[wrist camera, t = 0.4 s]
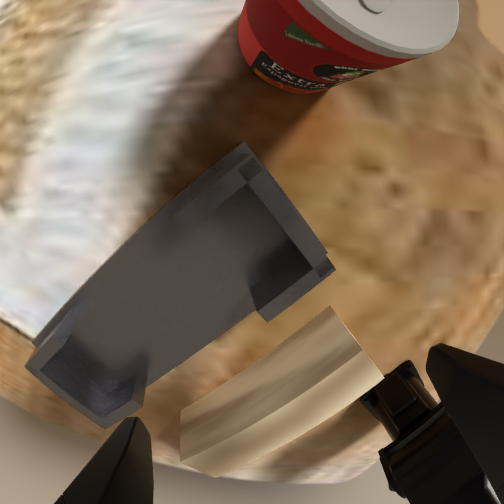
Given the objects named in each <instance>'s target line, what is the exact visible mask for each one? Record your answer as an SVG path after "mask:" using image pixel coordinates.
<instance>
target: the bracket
mask: <svg viewBox="0 0 504 504" xmlns="http://www.w3.org/2000/svg"><path fill="white" fill-rule="evenodd" d="M327 253H328V252H327V251H326V250H325V248H324V247H323V245H322V244H321V242H320V241H319V240H318V238H317V237H316V235H315V234H314V232H313V231H312V230H311V228H310V227H309V226H308V224H307V223H306V221H305V220H304V219H303V217H302V216H301V214H300V213H299V212H298V210H297V209H296V208H295V206H294V205H293V204H292V202H291V201H290V200H289V198H288V197H287V195H286V194H285V193H284V191H283V190H282V189H281V187H280V186H279V185H278V184H277V182H276V181H275V180H274V178H273V177H272V176H271V174H270V173H269V172H268V170H267V169H266V168H265V167H264V165H263V164H262V163H261V161H260V160H259V159H258V158H257V156H256V155H255V154H254V152H253V151H252V150H251V149H250V147H249V146H248V145H247V144H246V142H245V141H243V142H241V143H240V144H239V145H237V146H236V147H235V148H234V149H232V150H231V151H230V152H228V153H227V154H226V155H225V156H223V157H222V158H221V159H220V160H218V161H217V162H216V163H215V164H213V165H212V166H211V167H210V168H208V169H207V170H206V171H205V172H203V173H202V174H201V175H200V176H199V177H197V178H196V179H195V180H194V181H193V182H191V183H190V184H189V185H188V186H187V187H186V188H184V189H183V190H182V191H181V192H180V193H179V194H177V195H176V196H175V197H174V198H173V199H172V200H170V201H169V202H168V203H167V204H166V205H165V206H164V207H163V208H161V209H160V210H159V211H158V212H157V213H156V214H155V215H154V216H153V217H151V218H150V219H149V220H148V221H147V222H146V223H145V224H144V225H143V226H142V227H141V228H139V229H138V230H137V231H136V232H135V233H134V234H133V235H132V236H131V237H130V238H129V239H128V240H127V241H126V242H125V243H124V244H123V245H121V246H120V247H119V248H118V249H117V250H116V251H115V252H114V253H113V254H112V255H111V256H110V257H109V258H108V259H107V260H106V261H105V262H104V263H103V264H102V265H101V266H100V267H99V268H98V269H97V270H96V271H95V272H94V273H93V274H92V275H91V276H90V277H89V278H88V279H87V281H86V282H85V283H84V284H83V285H82V286H81V287H80V288H79V289H78V290H77V291H76V292H75V293H74V294H73V295H72V296H71V297H70V299H69V300H68V301H67V302H66V303H65V304H64V305H63V306H62V307H61V308H60V310H59V311H58V312H57V313H56V314H55V315H54V316H53V317H52V319H51V320H50V321H49V322H48V323H47V324H46V325H45V327H44V328H43V329H42V330H41V331H40V332H39V334H38V335H37V336H36V337H35V339H34V340H33V342H32V343H33V344H34V345H35V346H36V349H35V350H34V352H33V354H32V355H31V357H30V358H29V360H28V361H27V363H26V365H25V366H24V367H25V368H26V369H27V370H29V371H30V372H31V373H32V374H33V375H34V376H35V377H36V378H38V379H39V380H40V381H41V382H42V383H43V384H45V385H46V386H47V387H48V388H49V389H51V390H52V391H53V392H54V393H55V394H57V395H58V396H59V397H60V398H62V399H63V400H64V401H66V402H67V403H68V404H70V405H71V406H72V407H74V408H75V409H76V410H78V411H79V412H80V413H82V414H83V415H85V416H86V417H87V418H89V419H90V420H92V421H93V422H95V423H96V424H98V425H99V426H101V427H102V428H104V429H106V428H108V427H110V426H112V425H113V424H115V423H117V422H118V421H120V420H122V419H123V418H125V417H127V416H128V415H130V414H132V413H133V412H135V411H137V410H138V409H140V408H142V407H143V401H144V395H145V388H146V387H147V386H148V385H150V384H151V383H153V382H154V381H156V380H157V379H159V378H160V377H162V376H163V375H165V374H166V373H167V372H169V371H170V370H172V369H173V368H175V367H176V366H178V365H179V364H181V363H182V362H183V361H185V360H186V359H188V358H189V357H191V356H192V355H193V354H195V353H196V352H198V351H199V350H200V349H202V348H203V347H205V346H206V345H207V344H209V343H210V342H212V341H213V340H214V339H216V338H217V337H219V336H220V335H221V334H223V333H224V332H225V331H227V330H228V329H230V328H231V327H232V326H234V325H235V324H236V323H238V322H239V321H240V320H242V319H243V318H245V317H246V316H247V315H249V314H250V313H251V312H253V311H254V310H255V309H256V310H257V312H258V313H259V315H260V316H261V317H262V318H263V319H264V320H265V321H266V322H267V323H268V322H269V321H270V320H272V319H273V318H274V317H276V316H277V315H278V314H280V313H281V312H282V311H284V310H285V309H286V308H288V307H289V306H290V305H292V304H293V303H294V302H296V301H297V300H298V299H299V298H301V297H302V296H303V295H305V294H306V293H307V292H309V291H310V290H311V289H312V288H314V287H315V286H316V285H318V284H319V283H320V282H321V281H323V280H324V279H325V278H326V277H328V276H329V275H330V274H331V273H333V272H334V271H335V270H336V269H335V267H334V266H333V264H332V263H331V262H330V260H329V259H328V257H327V256H326V254H327Z"/></svg>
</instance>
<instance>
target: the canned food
mask: <svg viewBox="0 0 504 504" xmlns="http://www.w3.org/2000/svg"><path fill="white" fill-rule="evenodd" d="M458 22H459V5H458V0H246V1H245V4H244V7H243V10H242V13H241V17H240V20H239V24H238V32H237V33H238V42H239V46H240V49H241V52H242V55H243V56H244V58H245V60H246V61H247V63H248V65H249V66H250V67H251V68H252V69H253V70H254V72H255V73H256V74H257V75H258V76H260V77H261V78H262V79H263V80H265V81H266V82H268V83H270V84H271V85H273V86H275V87H277V88H280V89H282V90H285V91H288V92H294V93H300V94H303V93H315V92H320V91H324V90H326V89H329V88H332V87H334V86H337V85H339V84H342V83H345V82H348V81H350V80H353V79H356V78H359V77H362V76H364V75H367V74H370V73H373V72H376V71H379V70H383V69H386V68H389V67H392V66H395V65H399V64H402V63H405V62H407V61H410V60H413V59H417V58H420V57H423V56H426V55H428V54H431V53H433V52H434V51H437V50H440V49H441V48H442V47H444V46H445V45H446V44H448V43H449V42H450V40H451V39H452V37H453V36H454V34H455V32H456V29H457V25H458Z"/></svg>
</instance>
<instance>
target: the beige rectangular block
mask: <svg viewBox="0 0 504 504" xmlns="http://www.w3.org/2000/svg"><path fill="white" fill-rule="evenodd" d="M383 379H384V376H383V375H382V374H381V372H380V371H379V369H378V368H377V367H376V365H375V364H374V363H373V361H372V360H371V359H370V357H369V356H368V355H367V353H366V352H365V351H364V349H363V348H362V346H361V345H360V344H359V342H358V341H357V340H356V338H355V337H354V336H353V334H352V333H351V332H350V331H349V329H348V328H347V327H346V326H345V324H344V323H343V322H342V320H341V319H340V318H339V317H338V315H337V314H336V313H335V312H334V310H333V309H332V308H331V307H330V306H329V307H328V308H326V309H325V310H324V311H323V312H321V313H320V314H319V315H318V316H316V317H315V318H314V319H312V320H311V321H310V322H309V323H307V324H306V325H305V326H303V327H302V328H301V329H299V330H298V331H297V332H295V333H294V334H293V335H291V336H290V337H289V338H287V339H286V340H285V341H283V342H282V343H281V344H279V345H278V346H277V347H275V348H274V349H272V350H271V351H270V352H268V353H267V354H265V355H264V356H263V357H261V358H260V359H258V360H257V361H256V362H254V363H253V364H251V365H250V366H248V367H247V368H246V369H244V370H243V371H241V372H240V373H238V374H237V375H235V376H234V377H232V378H231V379H229V380H228V381H226V382H225V383H223V384H222V385H220V386H219V387H217V388H216V389H214V390H213V391H211V392H210V393H208V394H206V395H205V396H203V397H202V398H200V399H199V400H197V401H195V402H194V403H192V404H190V405H189V406H187V407H186V408H184V409H182V410H181V411H180V462H181V463H183V464H185V465H187V466H190V467H192V468H194V469H196V470H198V471H201V472H203V473H205V474H208V475H210V476H212V477H215V478H217V477H219V476H221V475H224V474H226V473H228V472H231V471H233V470H235V469H237V468H239V467H241V466H244V465H246V464H248V463H250V462H252V461H254V460H256V459H258V458H260V457H262V456H264V455H266V454H268V453H270V452H272V451H273V450H275V449H277V448H279V447H281V446H283V445H285V444H286V443H288V442H290V441H292V440H293V439H295V438H297V437H299V436H300V435H302V434H304V433H305V432H307V431H309V430H310V429H312V428H314V427H315V426H317V425H318V424H320V423H322V422H323V421H325V420H326V419H328V418H329V417H331V416H333V415H334V414H336V413H337V412H339V411H340V410H342V409H343V408H344V407H346V406H347V405H349V404H350V403H352V402H353V401H355V400H356V399H357V398H359V397H360V396H361V395H363V394H364V393H366V392H367V391H368V390H370V389H371V388H372V387H374V386H375V385H376V384H378V383H379V382H380V381H381V380H383Z"/></svg>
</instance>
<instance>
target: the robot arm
mask: <svg viewBox="0 0 504 504" xmlns="http://www.w3.org/2000/svg"><path fill="white" fill-rule="evenodd" d="M426 372H427V374H428V376H429V378H430V380H431V382H432V384H433V386H434V388H435V390H436V392H437V394H438V396H439V398H440V400H441V402H440V403H439V404H438V403H437V402H436V401H435V400H434V398H433V397H432V396H431V395H430V393H429V392H428V391H427V390H426V389H425V387H424V384H423V382H422V380H421V378H420V376H419V374H418V372H417V370H416V368H415V366H414V364H413V363H412V361H411V360H408V361H406V362H405V363H404V364H402V365H401V366H400V367H399V368H397V369H396V370H395V371H394V372H392V373H391V374H390V375H389V376H387V377H386V378H385V379H383V380H382V381H381V382H380V383H378V384H377V385H376V386H374V387H373V388H372V389H370V390H369V391H367V392H366V393H365V394H363V395H362V396H361V397H360V401H361V402H362V403H363V404H364V405H365V406H366V408H367V409H368V410H369V411H370V412H371V413H372V414H373V415H374V416H375V417H376V418H377V419H378V420H379V421H381V422H382V424H383V426H384V427H385V429H386V431H387V432H388V434H389V436H390V437H391V439H392V440H393V442H392V443H390V444H389V445H388V446H386V447H385V448H382V449H381V450H379V451H378V453H379V456H380V461H381V464H382V467H383V469H384V472H385V475H386V477H387V480H388V486H389V489H390V490H391V491H394V492H397V494H398V495H400V496H401V497H402V498H404V499H405V498H407V499H408V501H409V503H410V504H499V502H498V501H497V499H496V498H495V497H494V495H493V494H492V492H491V491H490V489H489V488H488V486H487V480H489V481H490V483H491V486H492V487H493V489H494V491H495V492H496V495H497V497H498V499H499V501H500V503H501V504H504V364H502V363H499V362H496V361H493V360H490V359H487V358H484V357H481V356H478V355H475V354H472V353H469V352H466V351H463V350H461V349H458V348H455V347H452V346H449V345H446V344H443V343H439V344H437V345H434V346H432V347H431V348H430V349H429V353H428V357H427V362H426ZM153 481H154V480H153V466H152V449H151V437H150V434H149V432H148V431H147V429H146V427H145V426H144V424H143V423H142V421H141V419H140V418H138V417H127V418H125V419H124V420H123V421H122V422H121V424H120V425H119V426H118V427H117V428H116V430H115V431H114V432H113V433H112V434H111V436H110V437H109V438H108V439H107V441H106V442H105V443H104V444H103V445H102V447H101V448H100V449H99V450H98V451H97V453H96V454H95V455H94V456H93V458H92V459H91V460H90V461H89V463H87V465H86V466H85V467H84V468H83V470H82V471H81V472H80V473H79V474H78V476H77V477H76V478H75V479H74V481H73V482H72V483H71V484H70V485H69V486H68V488H67V489H66V490H65V491H64V492H63V495H61V496H60V497H59V498H58V500H57V501H56V502H55V503H54V504H153V489H154V488H153V487H154V482H153Z"/></svg>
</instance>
